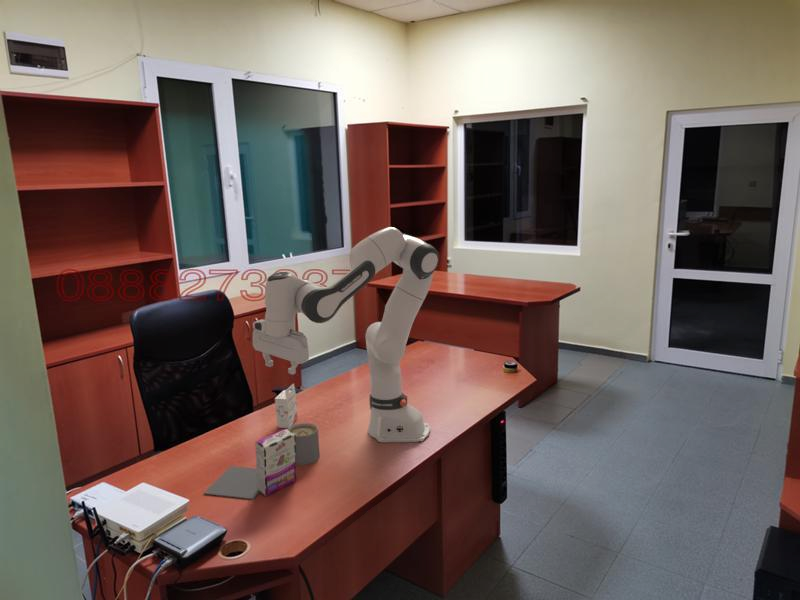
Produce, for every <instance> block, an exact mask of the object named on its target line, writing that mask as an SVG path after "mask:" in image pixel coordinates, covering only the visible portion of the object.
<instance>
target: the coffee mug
mask: <svg viewBox="0 0 800 600" xmlns="http://www.w3.org/2000/svg"><path fill="white" fill-rule="evenodd" d="M287 429H288V430H289V431H291V432H293V433H294V434H295V445H296V466H297V465H298V466H299V465H301V466H305V465H310V464H312V463H315V462H317V461H318V460H319V459H320V440H319V438H320V437H319V429H318V426H317V424H314V423H310V422H300V423H296V424H292V426H291V427H290V428H287Z"/></svg>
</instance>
